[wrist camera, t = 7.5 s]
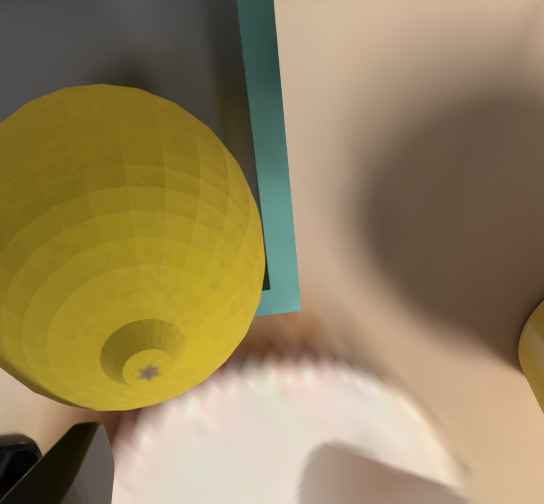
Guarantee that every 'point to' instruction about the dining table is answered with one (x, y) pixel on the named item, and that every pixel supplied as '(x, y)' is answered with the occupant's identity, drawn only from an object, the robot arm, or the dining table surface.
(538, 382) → the plant pot
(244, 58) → the teal tray on stand
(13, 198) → the lemon
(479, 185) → the dining table surface
